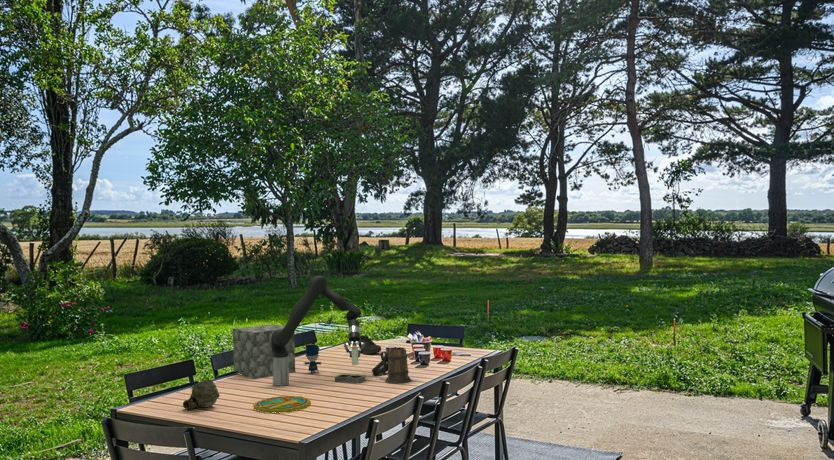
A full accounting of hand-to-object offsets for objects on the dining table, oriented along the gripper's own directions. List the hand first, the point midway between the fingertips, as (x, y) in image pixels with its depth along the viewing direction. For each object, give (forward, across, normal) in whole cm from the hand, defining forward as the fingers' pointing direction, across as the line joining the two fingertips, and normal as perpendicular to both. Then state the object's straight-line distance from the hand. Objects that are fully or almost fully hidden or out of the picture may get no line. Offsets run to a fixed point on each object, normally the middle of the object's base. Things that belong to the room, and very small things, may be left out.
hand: (355, 356), depth 407 cm
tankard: (+11, +24, +11) cm, 28 cm away
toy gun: (-4, +22, +27) cm, 35 cm away
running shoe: (-61, +9, +84) cm, 105 cm away
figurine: (-13, -28, +35) cm, 47 cm away
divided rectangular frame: (+8, -4, +14) cm, 17 cm away
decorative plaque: (+47, -40, -24) cm, 66 cm away
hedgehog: (+42, -85, -20) cm, 97 cm away
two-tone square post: (+2, 0, +5) cm, 5 cm away
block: (-21, -61, +43) cm, 78 cm away
